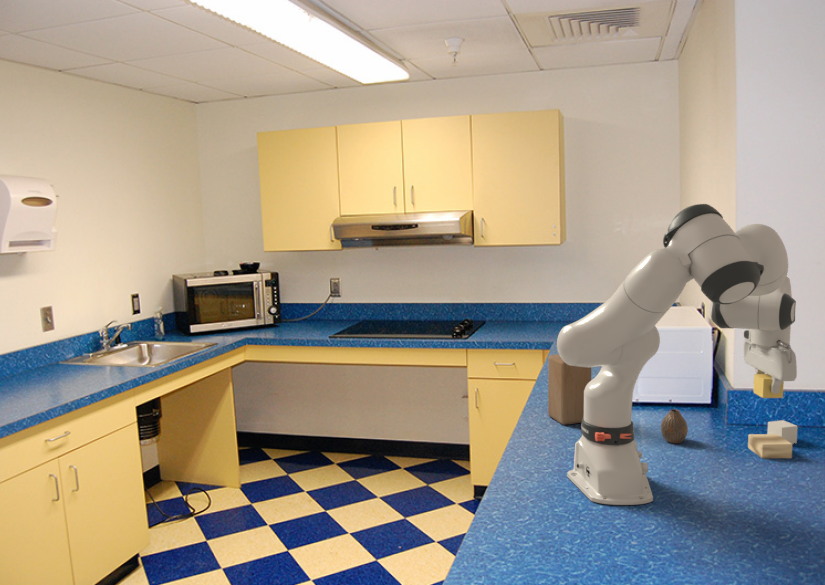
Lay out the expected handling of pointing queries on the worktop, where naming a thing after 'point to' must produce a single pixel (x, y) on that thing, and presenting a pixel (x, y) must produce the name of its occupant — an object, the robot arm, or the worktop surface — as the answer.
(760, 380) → the ochre cube
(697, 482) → the worktop surface
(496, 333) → the worktop surface
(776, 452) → the maple base
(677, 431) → the vase
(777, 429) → the grey cube
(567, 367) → the block
